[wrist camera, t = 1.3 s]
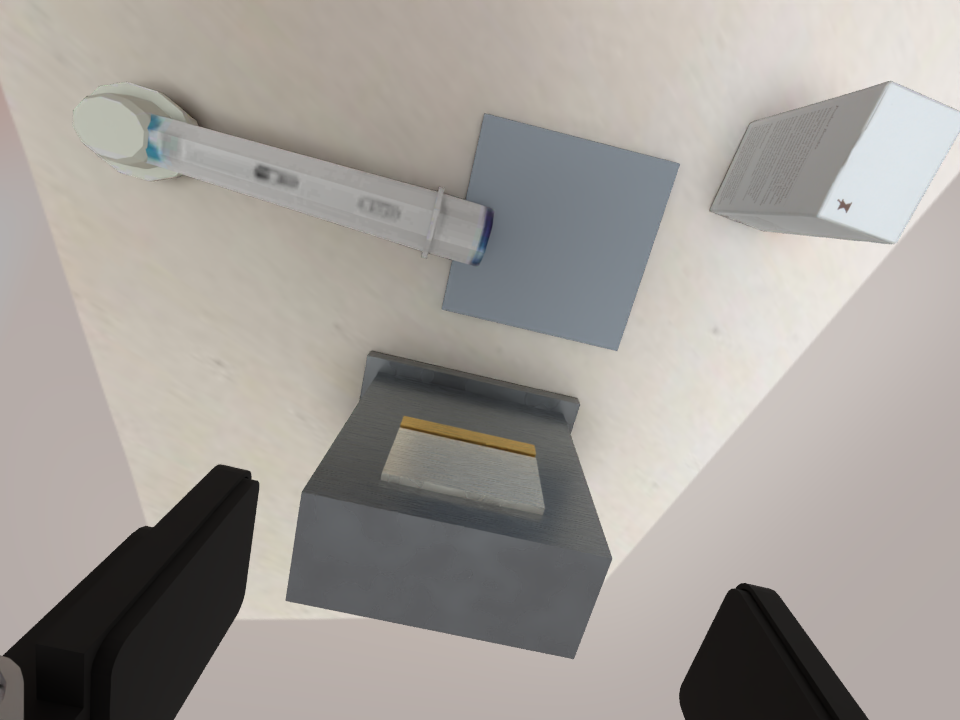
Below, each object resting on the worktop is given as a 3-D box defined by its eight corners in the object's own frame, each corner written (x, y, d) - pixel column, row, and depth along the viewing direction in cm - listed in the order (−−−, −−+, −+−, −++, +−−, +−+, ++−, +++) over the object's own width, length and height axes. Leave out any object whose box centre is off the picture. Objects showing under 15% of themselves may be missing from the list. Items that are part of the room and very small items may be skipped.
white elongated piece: (476, 283, 32) (30, 159, 27) (470, 265, 38) (106, 162, 34) (501, 198, 30) (32, 52, 26) (490, 194, 36) (111, 77, 32)
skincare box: (763, 232, 35) (896, 249, 24) (707, 211, 35) (813, 218, 23) (809, 141, 33) (976, 113, 22) (750, 118, 33) (888, 76, 21)
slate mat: (484, 115, 33) (484, 113, 32) (675, 164, 34) (680, 163, 33) (442, 306, 37) (441, 309, 36) (614, 347, 38) (617, 350, 37)
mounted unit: (371, 350, 38) (281, 467, 22) (577, 398, 39) (641, 544, 23) (354, 444, 40) (262, 612, 24) (548, 487, 41) (587, 678, 25)
